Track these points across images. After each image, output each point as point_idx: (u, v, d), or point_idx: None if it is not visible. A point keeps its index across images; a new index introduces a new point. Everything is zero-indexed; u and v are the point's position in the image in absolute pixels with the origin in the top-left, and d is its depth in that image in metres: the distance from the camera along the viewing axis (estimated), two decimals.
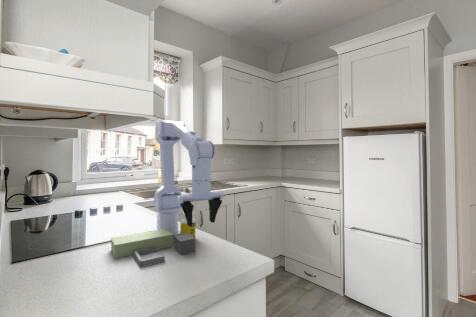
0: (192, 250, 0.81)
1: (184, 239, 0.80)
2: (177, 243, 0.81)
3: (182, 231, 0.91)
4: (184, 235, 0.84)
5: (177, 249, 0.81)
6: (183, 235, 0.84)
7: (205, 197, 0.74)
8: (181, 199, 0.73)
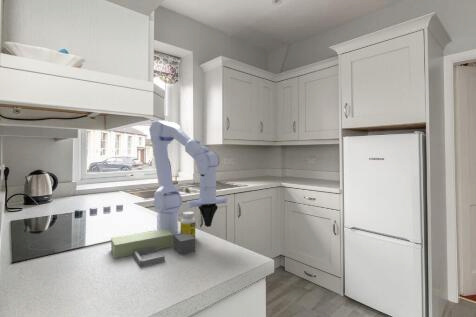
0: (192, 250, 0.81)
1: (184, 239, 0.80)
2: (177, 242, 0.81)
3: (182, 231, 0.91)
4: (184, 235, 0.84)
5: (177, 249, 0.81)
6: (183, 235, 0.84)
7: (212, 202, 0.83)
8: (190, 204, 0.82)
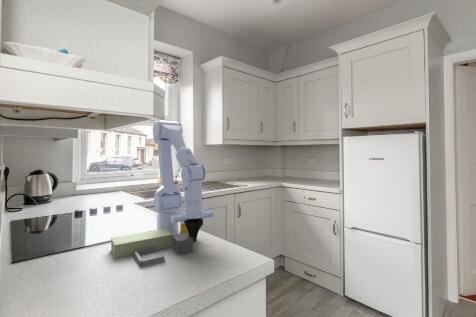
0: (190, 250, 0.81)
1: (182, 239, 0.80)
2: (175, 242, 0.80)
3: (182, 231, 0.91)
4: (182, 235, 0.84)
5: (175, 249, 0.81)
6: (181, 235, 0.84)
7: (196, 217, 0.81)
8: (174, 219, 0.80)
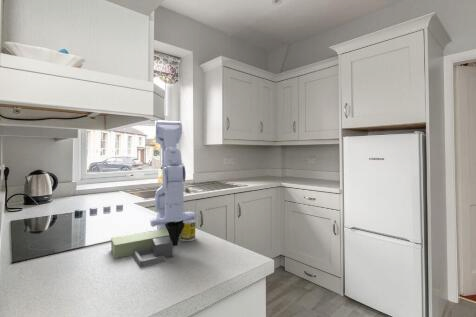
0: (169, 255, 0.77)
1: (161, 243, 0.76)
2: (154, 246, 0.77)
3: (182, 231, 0.91)
4: (163, 238, 0.80)
5: (154, 253, 0.77)
6: (162, 238, 0.81)
7: (177, 220, 0.77)
8: (153, 222, 0.76)
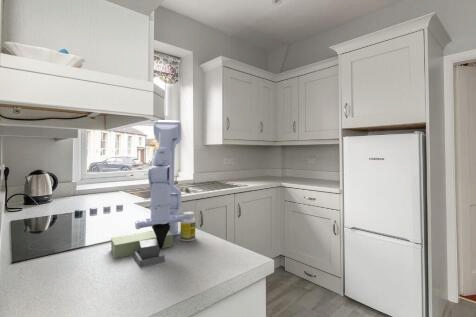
0: None
1: (146, 246, 0.74)
2: (140, 249, 0.75)
3: (182, 231, 0.91)
4: (150, 241, 0.78)
5: (140, 255, 0.76)
6: (149, 240, 0.79)
7: (162, 222, 0.75)
8: (138, 225, 0.74)
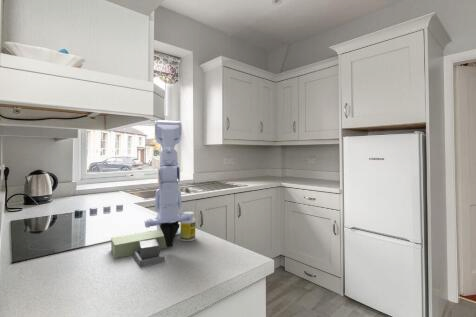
0: None
1: (146, 246, 0.74)
2: (140, 249, 0.75)
3: (182, 231, 0.91)
4: (150, 241, 0.78)
5: (140, 256, 0.76)
6: (149, 241, 0.79)
7: (171, 221, 0.76)
8: (147, 223, 0.75)
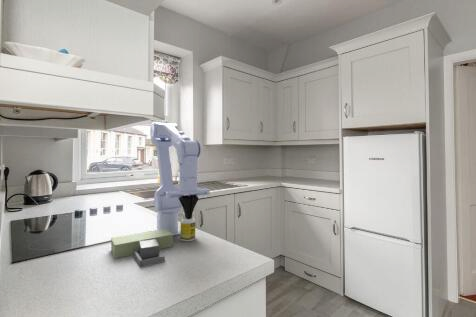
0: None
1: (146, 246, 0.74)
2: (140, 249, 0.75)
3: (182, 231, 0.91)
4: (150, 241, 0.78)
5: (140, 256, 0.76)
6: (149, 241, 0.79)
7: (191, 193, 0.79)
8: (168, 195, 0.78)
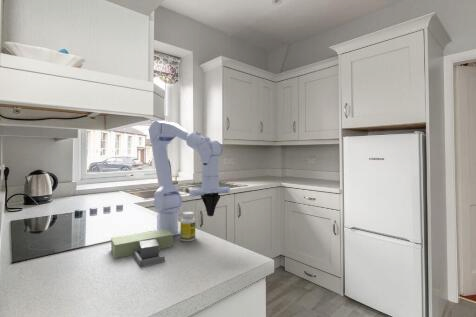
0: None
1: (146, 246, 0.74)
2: (140, 249, 0.75)
3: (182, 231, 0.91)
4: (150, 241, 0.78)
5: (140, 256, 0.76)
6: (149, 241, 0.79)
7: (214, 191, 0.83)
8: (193, 193, 0.82)
